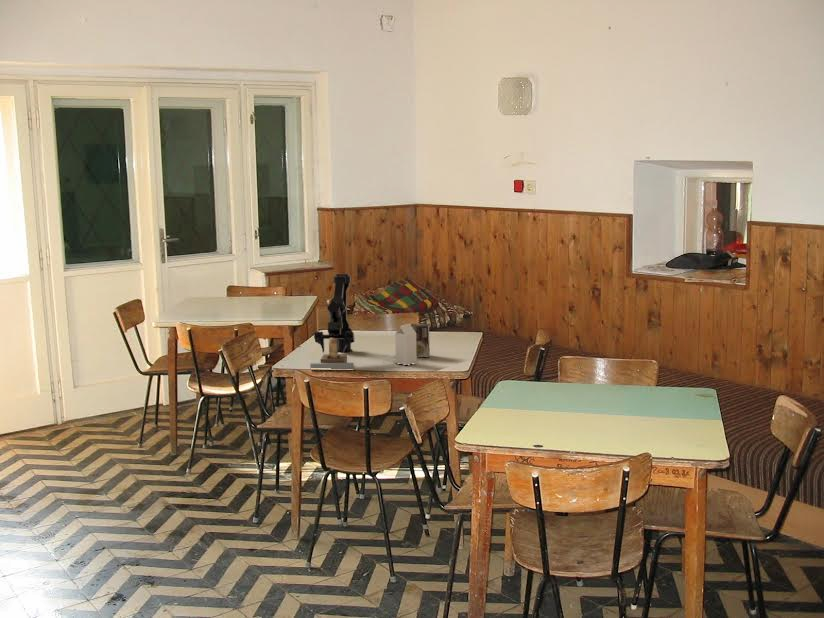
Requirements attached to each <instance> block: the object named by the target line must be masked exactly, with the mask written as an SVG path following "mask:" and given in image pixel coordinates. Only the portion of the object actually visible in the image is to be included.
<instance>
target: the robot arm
mask: <svg viewBox="0 0 824 618" xmlns="http://www.w3.org/2000/svg"><path fill="white" fill-rule="evenodd" d="M351 283H352V276H351V275H350V274H349V273H336V275H333V284H335V285H334V292H333V293H334V294H333V297H332V298H331V299H330V303H329V304H328V305H327V311H328V312H327V313H328V316H329V321H328V322H327V333H328V334H324V332H323V331H315V332H314V333H313V338H314V341H315V343H317V344H318V345H320V346H321V350H322V353H325V341H324V340H326V339H327V340H329V338H337V345H338V352H339V353H341V354H344V353H343V352H345V353H349V352H351V351H353V349H352V345H351V344H353V343H355V333H354V332H353V329H352V328H351V324H350V323H349V321H348V290H349V289H350V287H351ZM348 351H349V352H348Z"/></svg>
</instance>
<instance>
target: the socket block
mask: <svg viewBox="0 0 824 618" xmlns="http://www.w3.org/2000/svg"><path fill="white" fill-rule="evenodd" d="M320 363H348V354H347V353H338V358H329V354H328V353H325V354H323V355H322V357H321V358H320Z"/></svg>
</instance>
